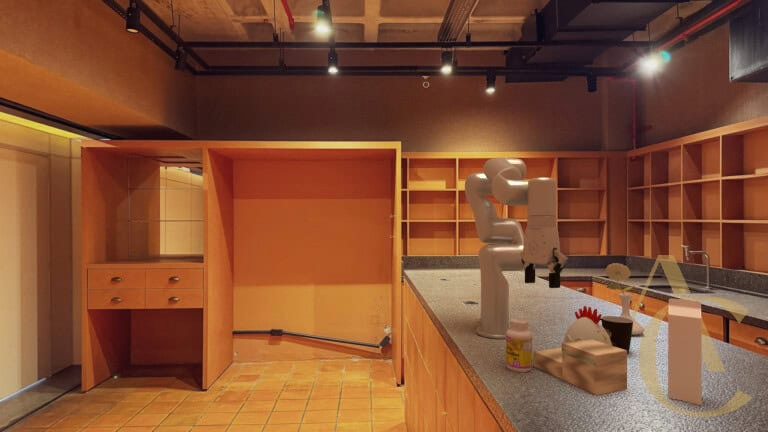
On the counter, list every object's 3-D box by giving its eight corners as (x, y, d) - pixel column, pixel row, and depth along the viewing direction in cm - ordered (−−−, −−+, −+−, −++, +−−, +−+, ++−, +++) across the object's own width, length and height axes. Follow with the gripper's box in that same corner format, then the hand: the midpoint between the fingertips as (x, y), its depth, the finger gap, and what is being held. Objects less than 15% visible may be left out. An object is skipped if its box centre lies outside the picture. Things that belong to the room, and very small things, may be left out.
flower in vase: (650, 334, 145) (650, 264, 145) (635, 339, 139) (635, 265, 139) (612, 326, 156) (612, 261, 156) (597, 330, 149) (597, 262, 150)
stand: (532, 366, 111) (533, 333, 111) (561, 361, 115) (561, 329, 115) (595, 395, 93) (595, 355, 93) (627, 388, 96) (627, 350, 97)
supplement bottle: (500, 366, 111) (500, 318, 111) (519, 362, 114) (519, 316, 114) (518, 374, 105) (518, 324, 105) (537, 370, 108) (537, 322, 108)
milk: (668, 390, 96) (668, 296, 97) (701, 396, 93) (700, 299, 93) (668, 398, 91) (667, 300, 92) (702, 405, 88) (701, 303, 88)
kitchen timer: (593, 369, 109) (593, 313, 110) (551, 354, 122) (551, 304, 122) (625, 361, 116) (625, 308, 116) (581, 348, 128) (582, 300, 128)
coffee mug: (638, 357, 119) (638, 323, 120) (606, 355, 121) (606, 321, 121) (623, 345, 131) (623, 314, 131) (594, 344, 132) (594, 313, 133)
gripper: (510, 222, 119) (510, 281, 118) (553, 222, 102) (553, 290, 102) (532, 223, 121) (532, 280, 121) (576, 222, 105) (577, 289, 104)
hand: (541, 285), depth 111 cm, fingers open, 9 cm apart
